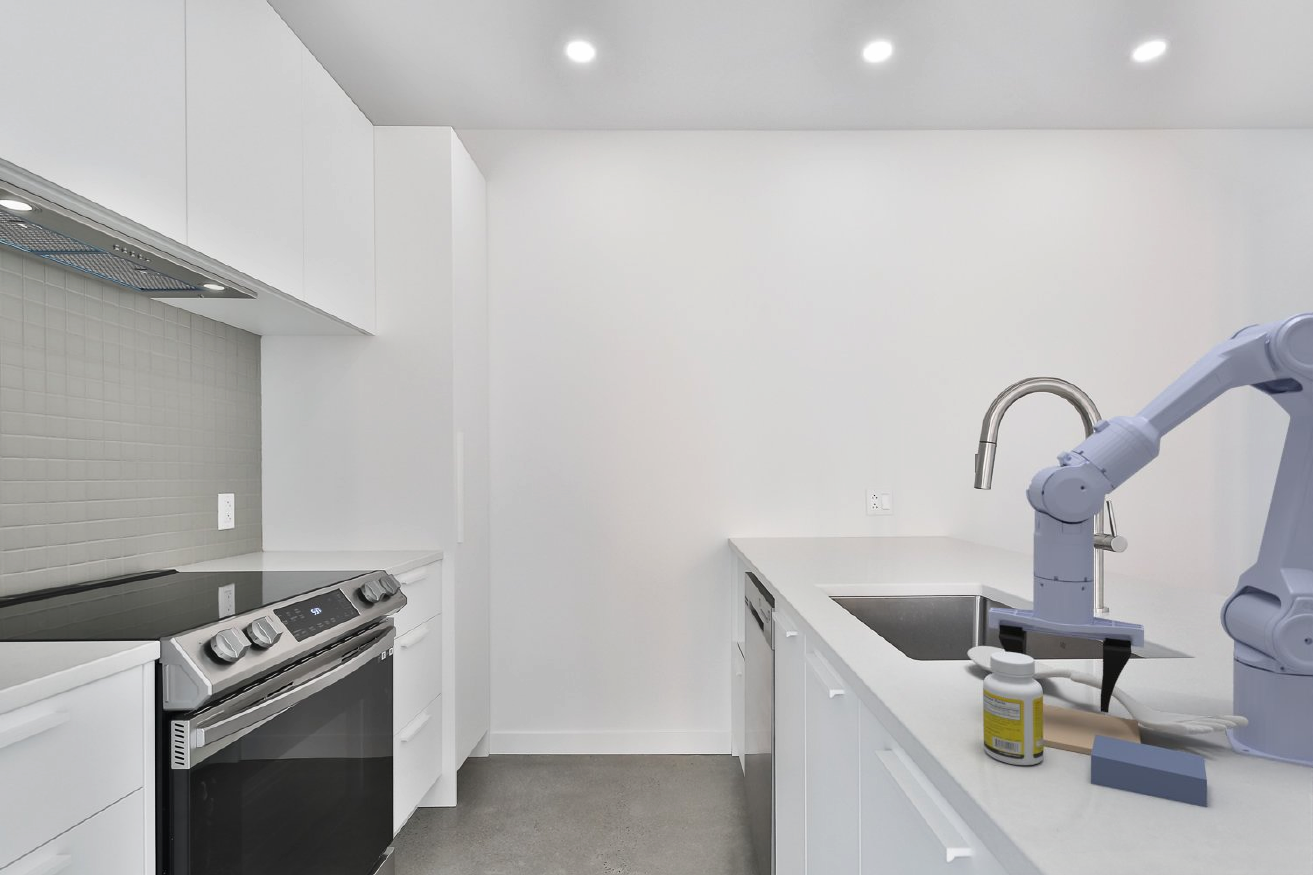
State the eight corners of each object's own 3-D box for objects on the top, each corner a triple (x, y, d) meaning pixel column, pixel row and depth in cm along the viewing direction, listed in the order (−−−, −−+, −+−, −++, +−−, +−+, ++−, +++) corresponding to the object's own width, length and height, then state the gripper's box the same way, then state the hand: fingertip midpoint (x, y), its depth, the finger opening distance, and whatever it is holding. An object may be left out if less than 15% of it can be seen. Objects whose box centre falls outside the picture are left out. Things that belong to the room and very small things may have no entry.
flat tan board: (1137, 725, 80) (1137, 720, 80) (1142, 765, 70) (1142, 758, 70) (997, 701, 87) (997, 696, 87) (985, 733, 78) (985, 728, 78)
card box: (1203, 788, 66) (1203, 755, 66) (1206, 814, 62) (1206, 779, 62) (1095, 764, 71) (1095, 734, 71) (1091, 787, 67) (1091, 754, 67)
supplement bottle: (1024, 742, 75) (1024, 648, 75) (1054, 766, 70) (1055, 665, 70) (973, 743, 75) (973, 649, 75) (999, 767, 70) (1000, 666, 70)
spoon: (1185, 759, 69) (1185, 723, 69) (952, 666, 100) (952, 640, 100) (1251, 750, 72) (1251, 715, 72) (1005, 661, 102) (1005, 637, 103)
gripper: (1141, 577, 78) (1141, 703, 78) (994, 564, 86) (994, 679, 86) (1145, 589, 72) (1144, 725, 72) (986, 574, 80) (986, 698, 80)
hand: (1062, 702), depth 79 cm, fingers open, 7 cm apart
